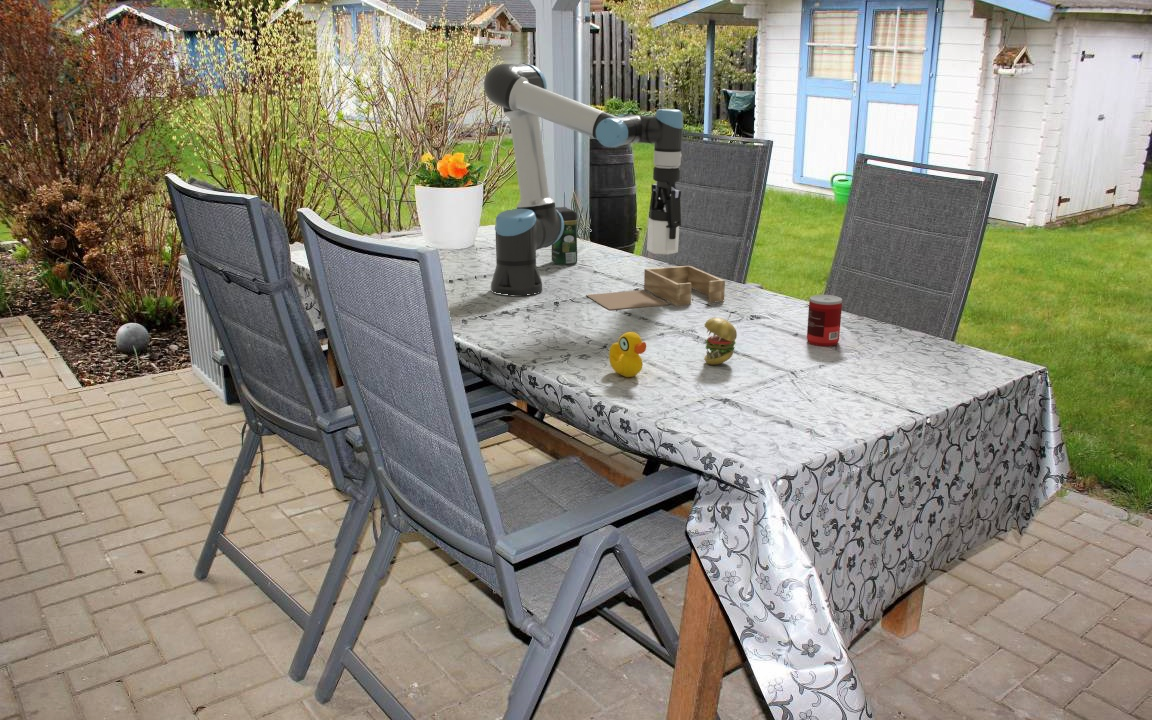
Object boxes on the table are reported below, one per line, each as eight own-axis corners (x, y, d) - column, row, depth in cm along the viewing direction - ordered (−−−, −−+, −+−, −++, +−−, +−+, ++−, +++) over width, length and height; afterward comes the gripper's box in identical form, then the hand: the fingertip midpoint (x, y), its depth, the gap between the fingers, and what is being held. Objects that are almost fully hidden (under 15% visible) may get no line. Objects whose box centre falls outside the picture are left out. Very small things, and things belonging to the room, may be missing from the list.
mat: (609, 310, 273) (609, 309, 273) (586, 295, 289) (586, 294, 289) (669, 304, 279) (669, 303, 279) (642, 291, 295) (642, 290, 295)
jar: (663, 256, 279) (665, 213, 276) (641, 251, 285) (643, 209, 281) (683, 251, 286) (685, 210, 282) (661, 247, 291) (663, 206, 287)
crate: (676, 305, 278) (676, 284, 276) (644, 288, 298) (644, 269, 296) (724, 301, 283) (725, 280, 281) (689, 285, 303) (690, 265, 301)
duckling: (654, 380, 214) (655, 335, 212) (634, 385, 212) (635, 339, 209) (621, 367, 223) (622, 324, 220) (602, 371, 220) (603, 327, 217)
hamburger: (701, 358, 230) (703, 308, 226) (733, 358, 230) (735, 308, 226) (704, 368, 223) (706, 316, 219) (737, 368, 222) (739, 316, 219)
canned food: (840, 339, 245) (843, 295, 242) (837, 348, 238) (840, 303, 235) (808, 336, 248) (811, 293, 245) (804, 345, 241) (807, 300, 237)
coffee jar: (548, 261, 338) (548, 206, 332) (570, 259, 340) (570, 205, 335) (557, 266, 329) (557, 210, 323) (580, 265, 331) (580, 209, 326)
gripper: (696, 170, 270) (692, 253, 276) (662, 161, 288) (658, 239, 295) (672, 171, 267) (667, 255, 274) (638, 162, 285) (635, 241, 292)
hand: (663, 247), depth 284 cm, fingers closed on jar, 8 cm apart
